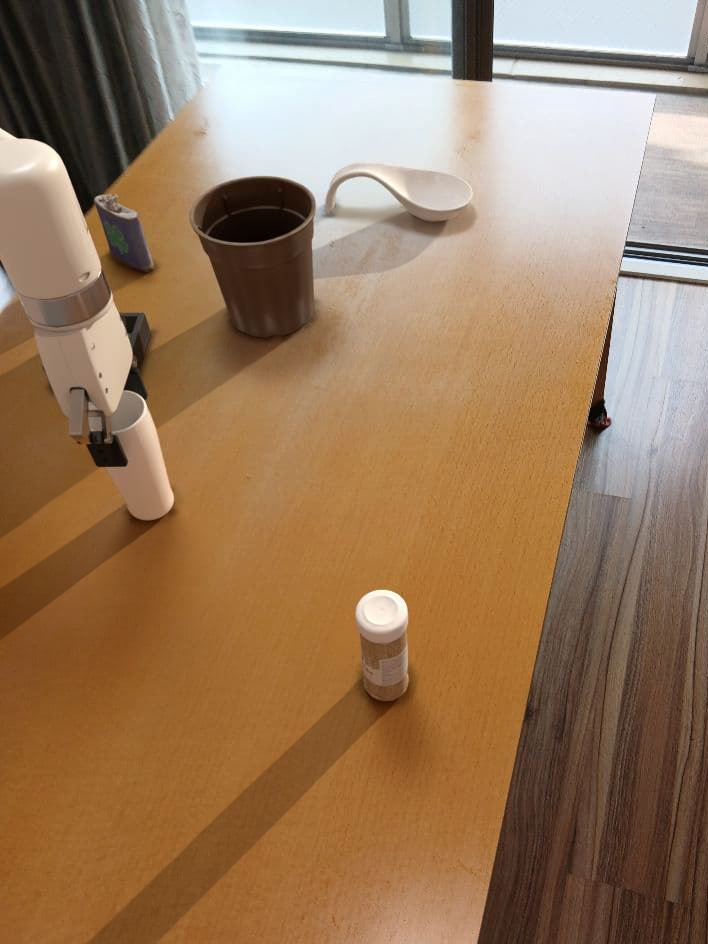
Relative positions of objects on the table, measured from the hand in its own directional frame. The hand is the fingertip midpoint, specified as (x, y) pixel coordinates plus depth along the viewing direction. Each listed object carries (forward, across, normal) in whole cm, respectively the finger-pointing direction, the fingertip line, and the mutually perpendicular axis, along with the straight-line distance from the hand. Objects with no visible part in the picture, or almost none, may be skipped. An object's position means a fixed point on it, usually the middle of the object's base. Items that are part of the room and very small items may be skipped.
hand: (123, 430), depth 85 cm
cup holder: (+12, -26, -12) cm, 31 cm away
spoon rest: (+12, -62, +28) cm, 69 cm away
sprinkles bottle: (+13, +23, +28) cm, 38 cm away
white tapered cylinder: (+12, 0, 0) cm, 13 cm away
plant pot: (+12, -36, +10) cm, 39 cm away
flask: (+12, -49, -13) cm, 52 cm away
